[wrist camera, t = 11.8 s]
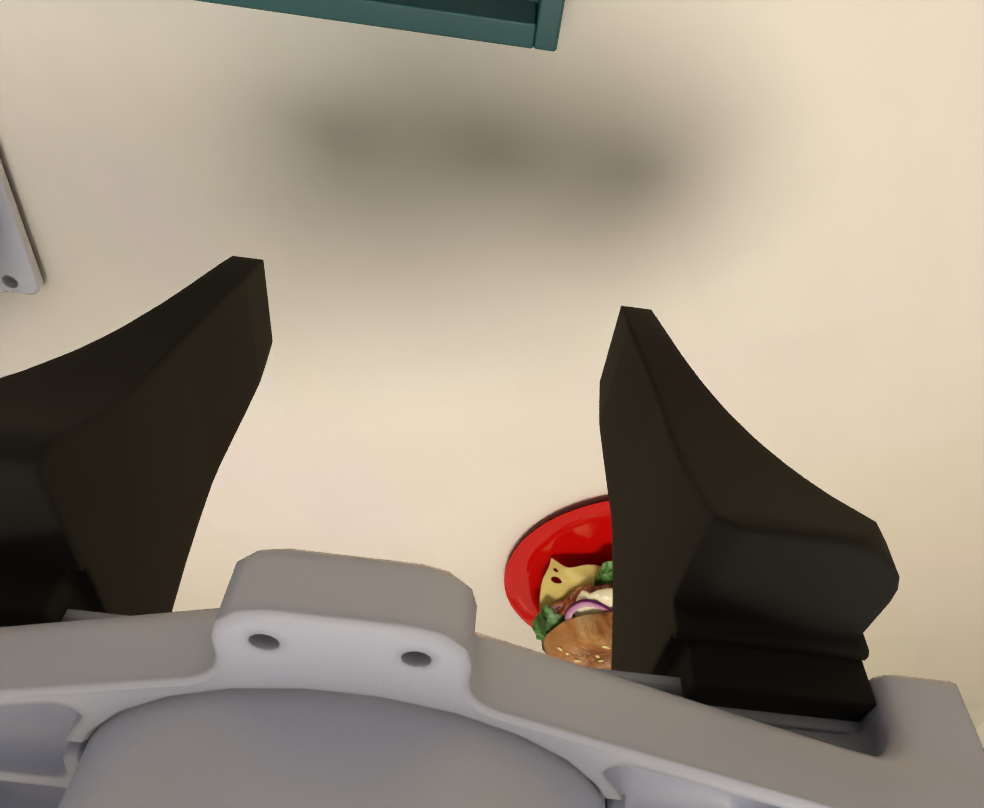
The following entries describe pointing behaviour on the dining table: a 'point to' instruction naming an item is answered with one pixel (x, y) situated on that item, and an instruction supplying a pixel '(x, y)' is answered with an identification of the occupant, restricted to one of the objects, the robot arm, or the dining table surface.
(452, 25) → the tray
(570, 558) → the hamburger
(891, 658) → the dining table surface
